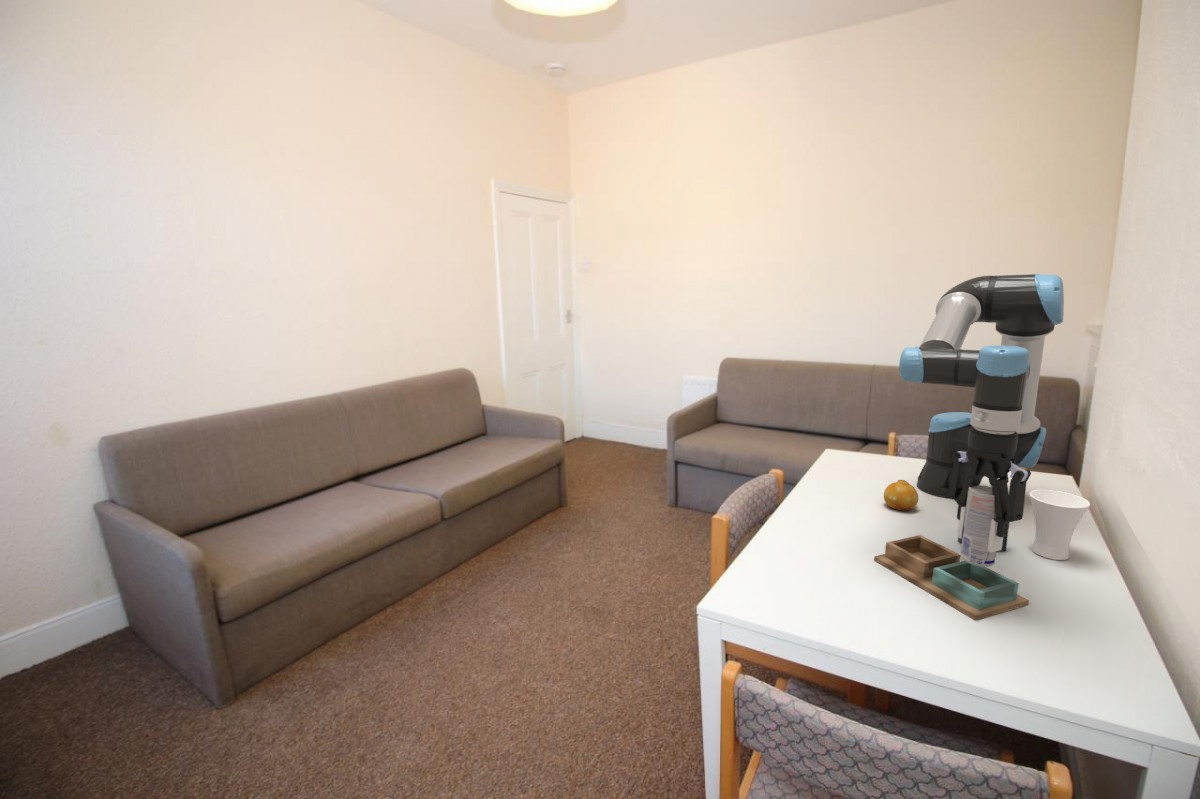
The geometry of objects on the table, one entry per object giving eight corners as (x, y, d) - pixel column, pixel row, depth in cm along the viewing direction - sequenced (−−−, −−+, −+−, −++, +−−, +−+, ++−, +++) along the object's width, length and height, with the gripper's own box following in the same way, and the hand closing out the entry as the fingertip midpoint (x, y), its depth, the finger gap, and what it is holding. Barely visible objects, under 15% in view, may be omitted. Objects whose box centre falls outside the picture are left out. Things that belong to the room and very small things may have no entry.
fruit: (903, 491, 156) (896, 471, 153) (928, 504, 149) (921, 483, 145) (882, 508, 155) (874, 488, 152) (905, 522, 148) (898, 501, 144)
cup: (1031, 561, 121) (1039, 504, 118) (1014, 540, 131) (1022, 487, 128) (1089, 568, 118) (1100, 510, 115) (1068, 546, 127) (1077, 492, 124)
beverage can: (1000, 569, 104) (1010, 495, 101) (967, 567, 105) (976, 494, 102) (986, 555, 109) (995, 485, 106) (955, 553, 110) (963, 483, 107)
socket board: (874, 560, 124) (875, 542, 123) (921, 549, 128) (923, 531, 127) (975, 620, 101) (978, 598, 100) (1028, 604, 106) (1031, 583, 105)
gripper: (934, 420, 109) (923, 527, 114) (1031, 444, 92) (1013, 569, 97) (962, 416, 111) (950, 521, 116) (1062, 439, 94) (1042, 561, 99)
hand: (979, 543), depth 106 cm, fingers closed on beverage can, 5 cm apart
